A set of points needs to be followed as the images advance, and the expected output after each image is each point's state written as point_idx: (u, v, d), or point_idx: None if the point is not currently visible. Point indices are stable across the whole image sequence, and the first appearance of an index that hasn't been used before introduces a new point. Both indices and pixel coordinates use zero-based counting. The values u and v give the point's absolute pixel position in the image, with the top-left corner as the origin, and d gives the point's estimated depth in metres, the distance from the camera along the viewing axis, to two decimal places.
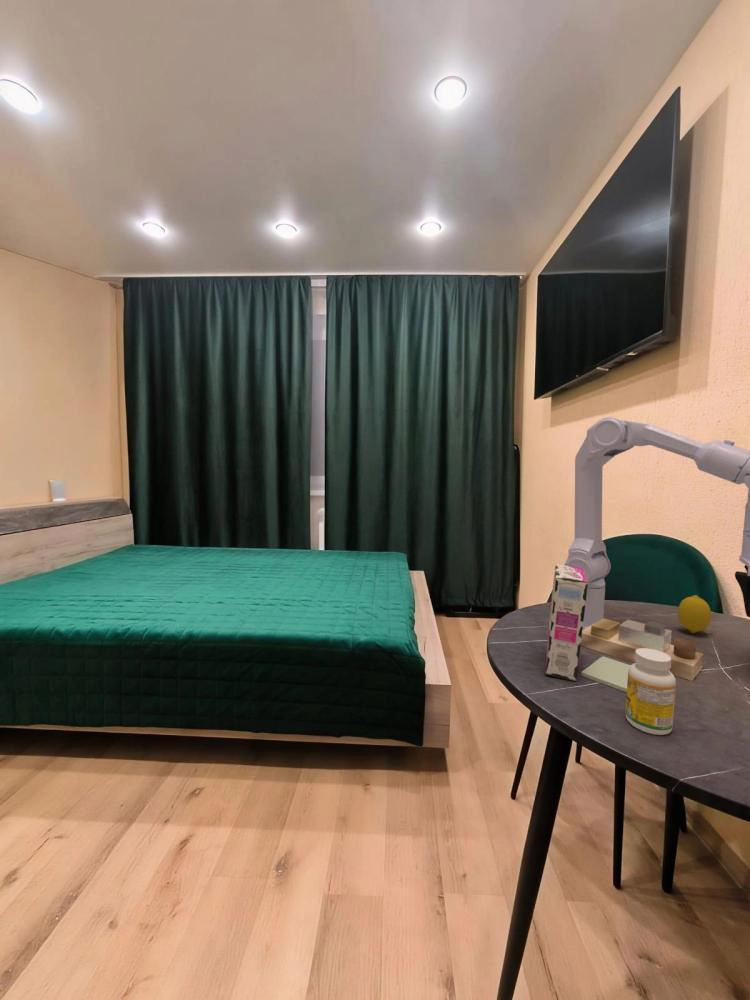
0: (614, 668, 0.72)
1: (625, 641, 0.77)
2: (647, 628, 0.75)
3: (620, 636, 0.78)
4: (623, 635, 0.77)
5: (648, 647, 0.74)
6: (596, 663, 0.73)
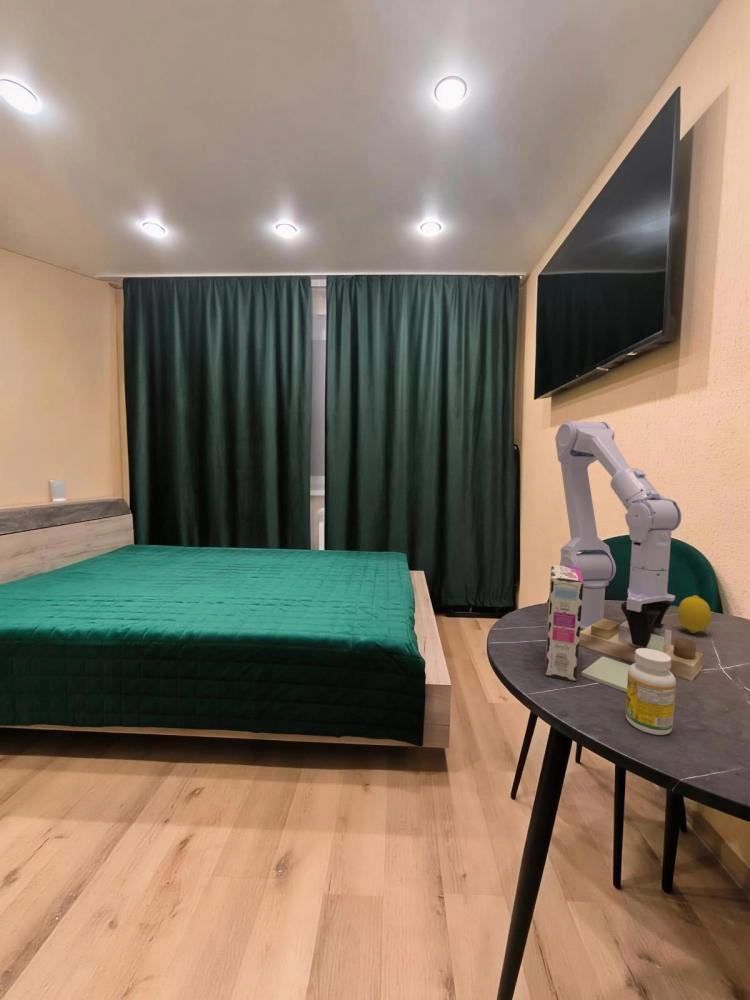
0: (614, 668, 0.72)
1: (625, 641, 0.77)
2: None
3: (620, 636, 0.78)
4: (623, 635, 0.77)
5: (648, 647, 0.74)
6: (596, 663, 0.73)
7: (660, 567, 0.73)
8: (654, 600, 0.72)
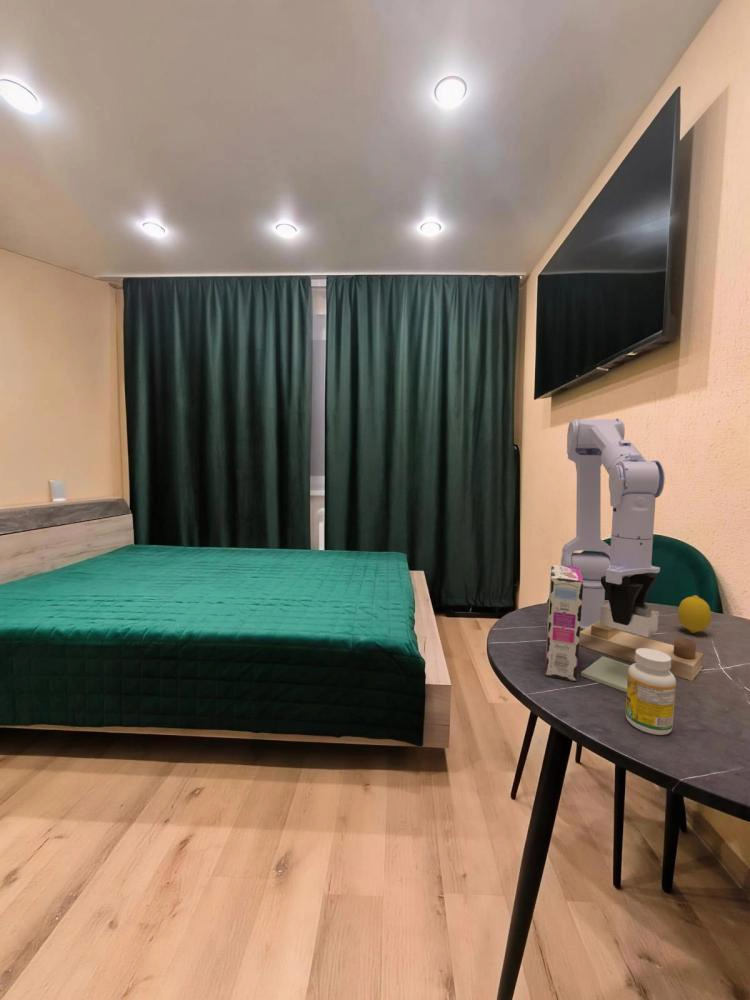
0: (614, 668, 0.72)
1: (607, 624, 0.70)
2: None
3: (602, 618, 0.70)
4: (605, 617, 0.70)
5: (632, 630, 0.67)
6: (596, 663, 0.73)
7: (636, 535, 0.66)
8: (636, 572, 0.65)
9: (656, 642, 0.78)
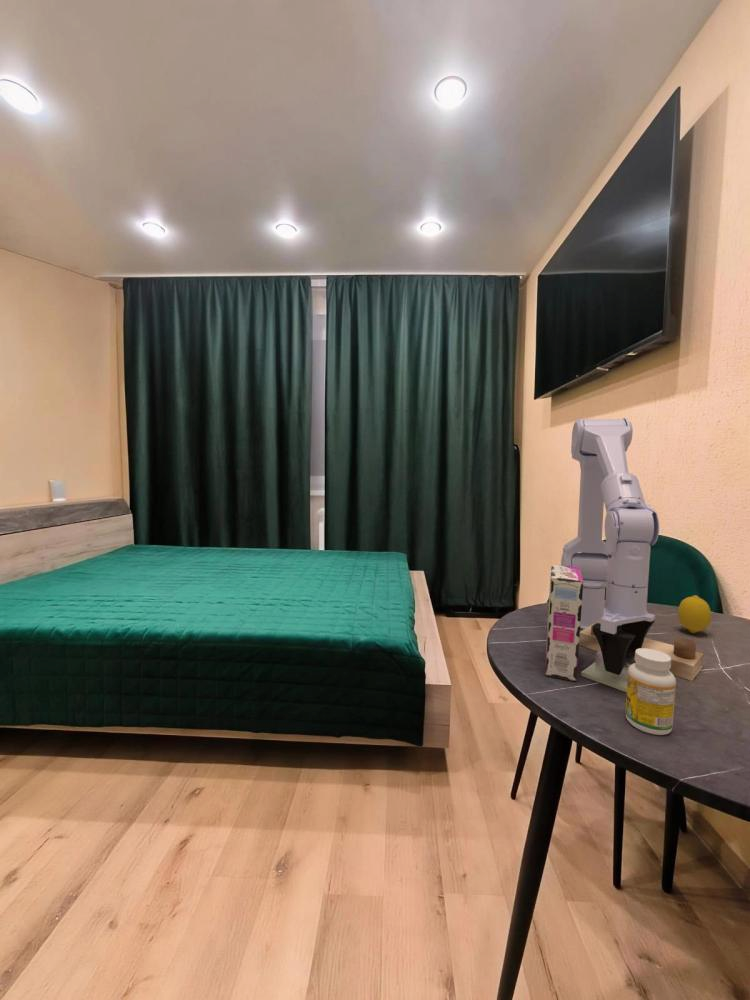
0: None
1: (602, 671, 0.70)
2: (626, 657, 0.68)
3: (597, 665, 0.70)
4: (600, 664, 0.70)
5: (627, 679, 0.67)
6: None
7: (630, 583, 0.66)
8: (631, 620, 0.65)
9: (656, 642, 0.78)
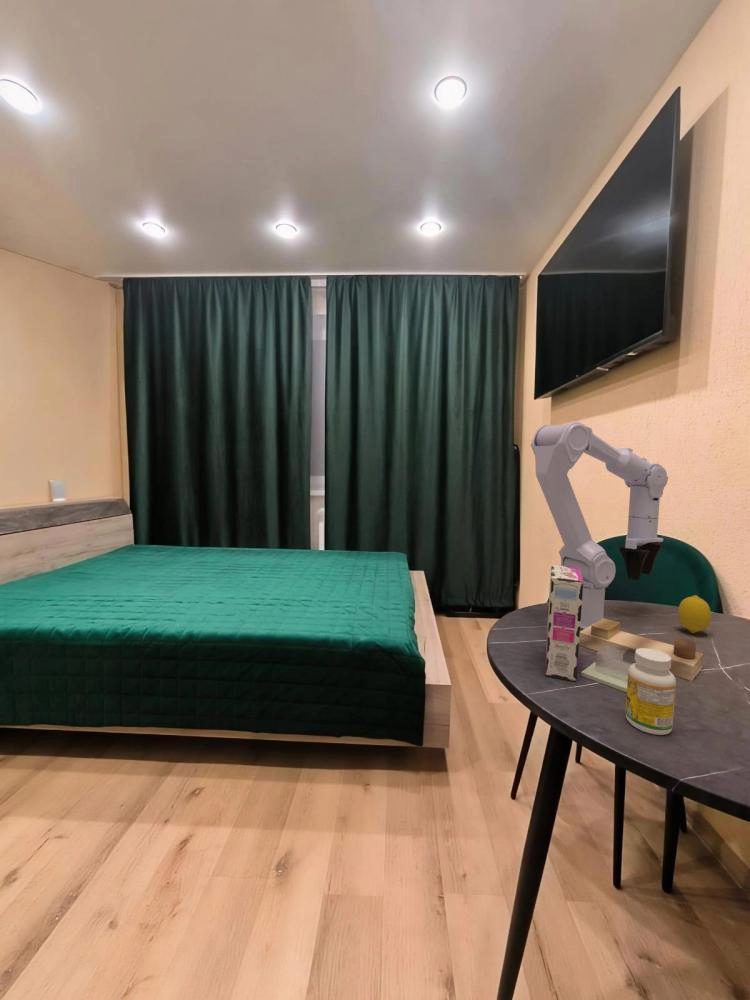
0: None
1: (602, 671, 0.70)
2: (626, 657, 0.68)
3: (597, 665, 0.70)
4: (600, 664, 0.70)
5: (627, 679, 0.67)
6: None
7: None
8: (647, 541, 0.93)
9: (656, 642, 0.78)
